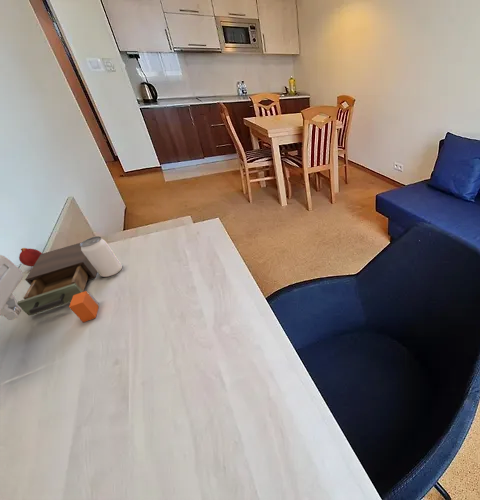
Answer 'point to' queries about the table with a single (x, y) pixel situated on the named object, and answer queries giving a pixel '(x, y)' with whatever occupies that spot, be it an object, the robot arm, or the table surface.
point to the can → (101, 256)
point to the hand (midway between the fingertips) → (16, 315)
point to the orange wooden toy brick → (84, 306)
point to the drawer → (54, 290)
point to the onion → (29, 256)
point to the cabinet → (61, 262)
